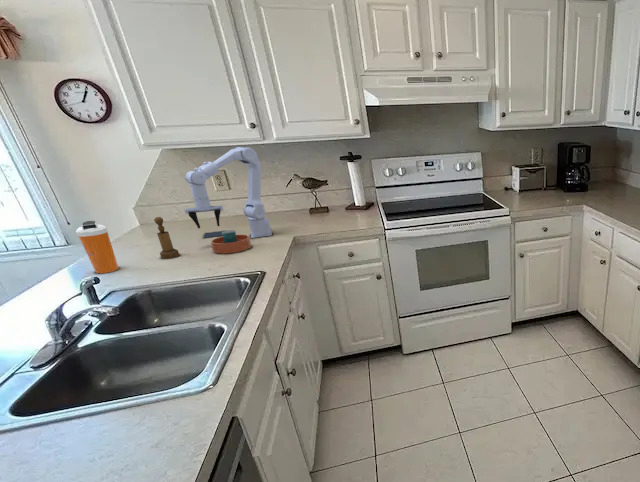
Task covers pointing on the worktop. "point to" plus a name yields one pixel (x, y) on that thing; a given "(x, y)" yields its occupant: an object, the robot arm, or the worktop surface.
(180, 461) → the worktop surface
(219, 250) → the terracotta bowl
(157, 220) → the wooden pepper mill
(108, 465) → the worktop surface
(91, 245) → the shaker bottle
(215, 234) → the slate coaster
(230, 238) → the teal cup
